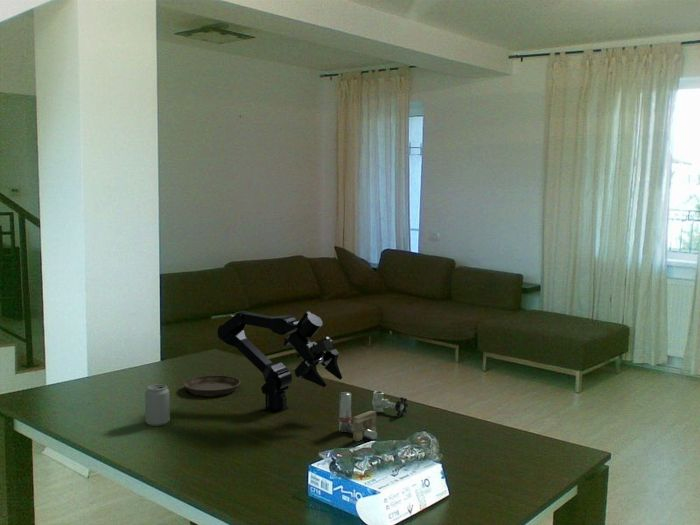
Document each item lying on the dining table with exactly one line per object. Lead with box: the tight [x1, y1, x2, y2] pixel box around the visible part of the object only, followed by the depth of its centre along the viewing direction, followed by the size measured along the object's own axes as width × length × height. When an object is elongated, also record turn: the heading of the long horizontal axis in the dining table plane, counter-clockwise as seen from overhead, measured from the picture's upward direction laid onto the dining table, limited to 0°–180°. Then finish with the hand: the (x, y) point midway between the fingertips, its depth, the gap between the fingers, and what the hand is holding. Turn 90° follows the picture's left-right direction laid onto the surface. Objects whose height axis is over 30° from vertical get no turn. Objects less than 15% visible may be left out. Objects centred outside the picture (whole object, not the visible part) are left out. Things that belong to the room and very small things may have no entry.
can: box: [144, 383, 171, 427], centre depth 216 cm, size 8×8×12 cm
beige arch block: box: [352, 409, 377, 442], centre depth 204 cm, size 2×8×7 cm, turn 139°
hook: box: [337, 391, 379, 440], centre depth 206 cm, size 14×4×12 cm, turn 49°
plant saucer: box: [183, 374, 241, 397], centre depth 252 cm, size 21×21×3 cm
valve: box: [371, 390, 409, 418], centre depth 227 cm, size 7×7×12 cm
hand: (333, 382), depth 217 cm, fingers open, 9 cm apart
